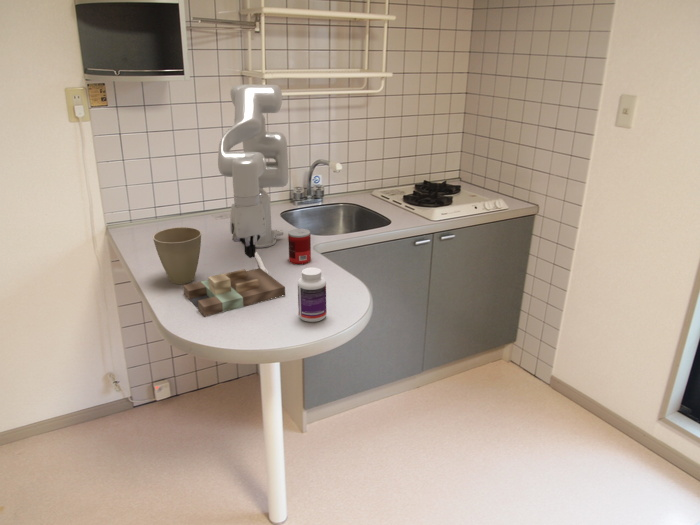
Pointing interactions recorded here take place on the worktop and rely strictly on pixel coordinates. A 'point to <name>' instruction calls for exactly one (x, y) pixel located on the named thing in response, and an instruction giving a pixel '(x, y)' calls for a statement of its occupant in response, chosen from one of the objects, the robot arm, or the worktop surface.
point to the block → (219, 284)
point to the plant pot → (179, 252)
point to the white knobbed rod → (260, 262)
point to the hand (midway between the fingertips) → (250, 255)
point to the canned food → (299, 246)
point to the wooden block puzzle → (234, 291)
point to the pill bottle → (312, 295)
